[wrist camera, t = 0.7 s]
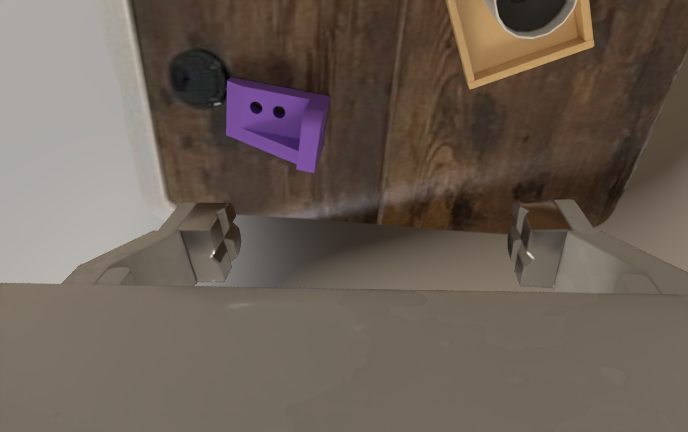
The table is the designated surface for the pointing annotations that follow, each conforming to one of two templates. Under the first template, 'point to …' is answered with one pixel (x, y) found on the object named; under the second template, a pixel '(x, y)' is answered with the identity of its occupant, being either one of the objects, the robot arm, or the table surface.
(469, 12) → the tray
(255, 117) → the bracket
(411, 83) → the table surface
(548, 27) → the white tumbler
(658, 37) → the table surface
